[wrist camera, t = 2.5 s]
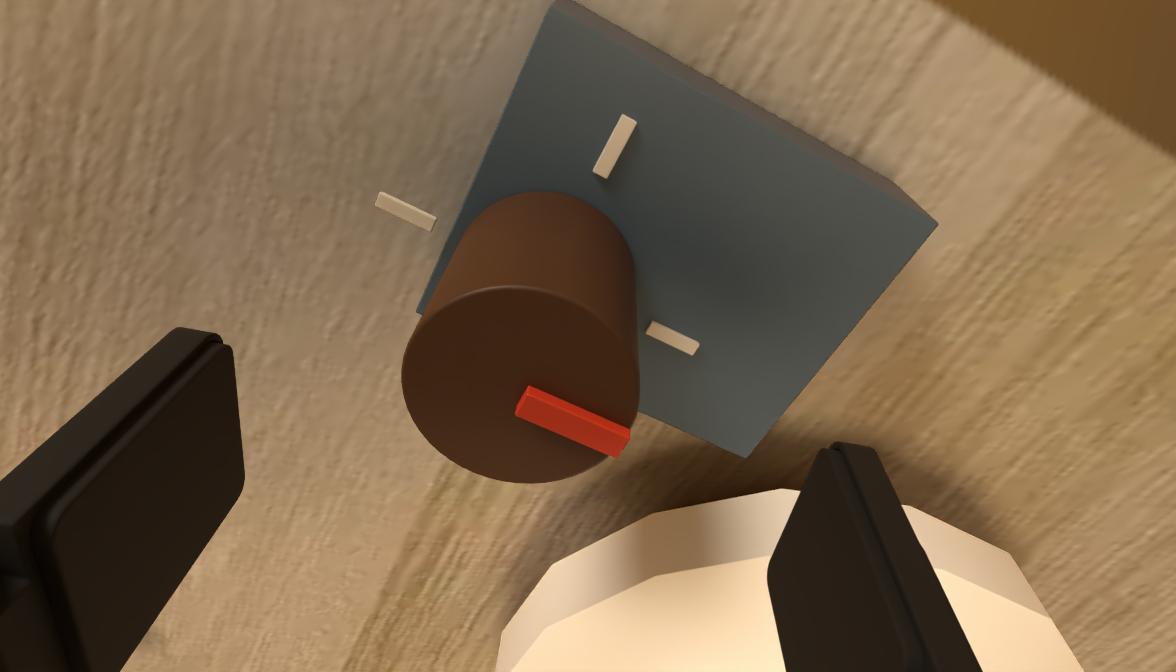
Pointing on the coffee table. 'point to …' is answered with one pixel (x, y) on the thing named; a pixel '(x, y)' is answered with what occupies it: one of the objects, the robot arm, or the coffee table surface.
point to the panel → (697, 220)
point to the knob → (529, 343)
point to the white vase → (744, 597)
